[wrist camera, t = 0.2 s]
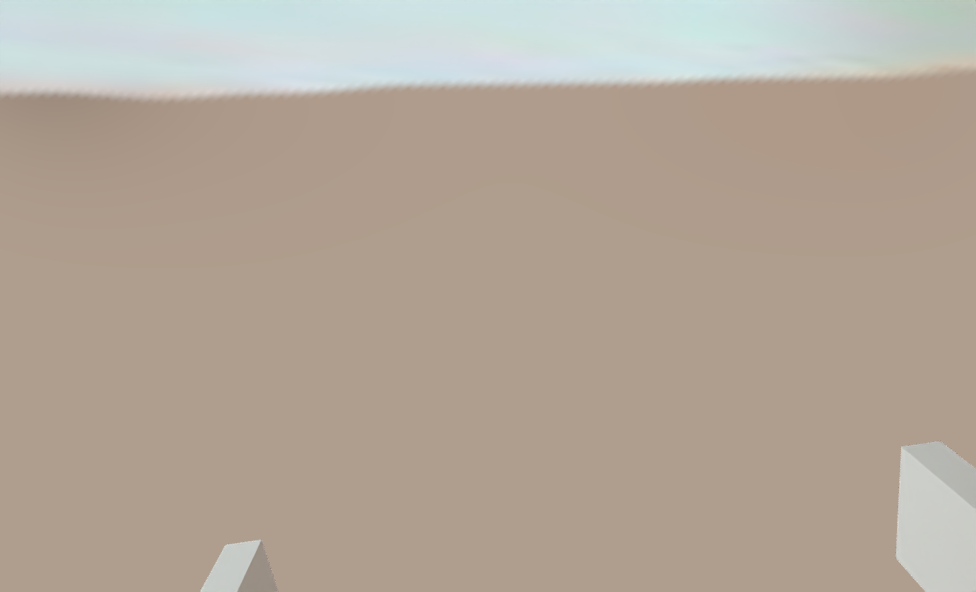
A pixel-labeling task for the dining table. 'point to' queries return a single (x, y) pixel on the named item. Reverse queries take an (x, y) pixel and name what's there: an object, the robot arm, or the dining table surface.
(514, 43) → the dining table surface
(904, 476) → the robot arm
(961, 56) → the dining table surface
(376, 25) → the dining table surface
